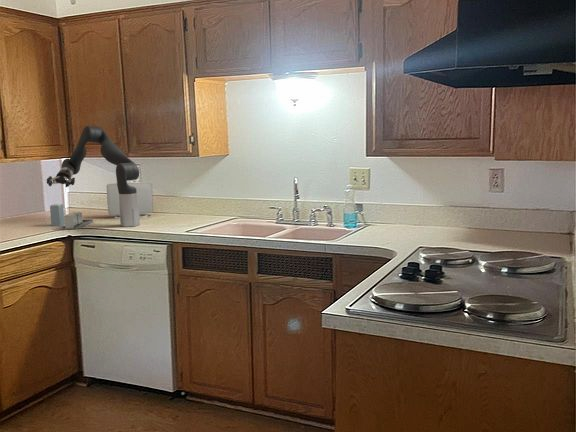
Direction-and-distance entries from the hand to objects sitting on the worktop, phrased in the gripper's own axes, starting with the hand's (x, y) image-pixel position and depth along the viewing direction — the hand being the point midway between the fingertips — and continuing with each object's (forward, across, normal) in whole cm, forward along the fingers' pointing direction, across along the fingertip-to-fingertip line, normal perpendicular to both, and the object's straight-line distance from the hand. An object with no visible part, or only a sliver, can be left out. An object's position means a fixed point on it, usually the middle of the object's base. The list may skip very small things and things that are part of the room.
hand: (58, 185), depth 320 cm
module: (+12, +2, +19) cm, 22 cm away
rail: (+16, +13, +16) cm, 27 cm away
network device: (-10, +38, +22) cm, 45 cm away
